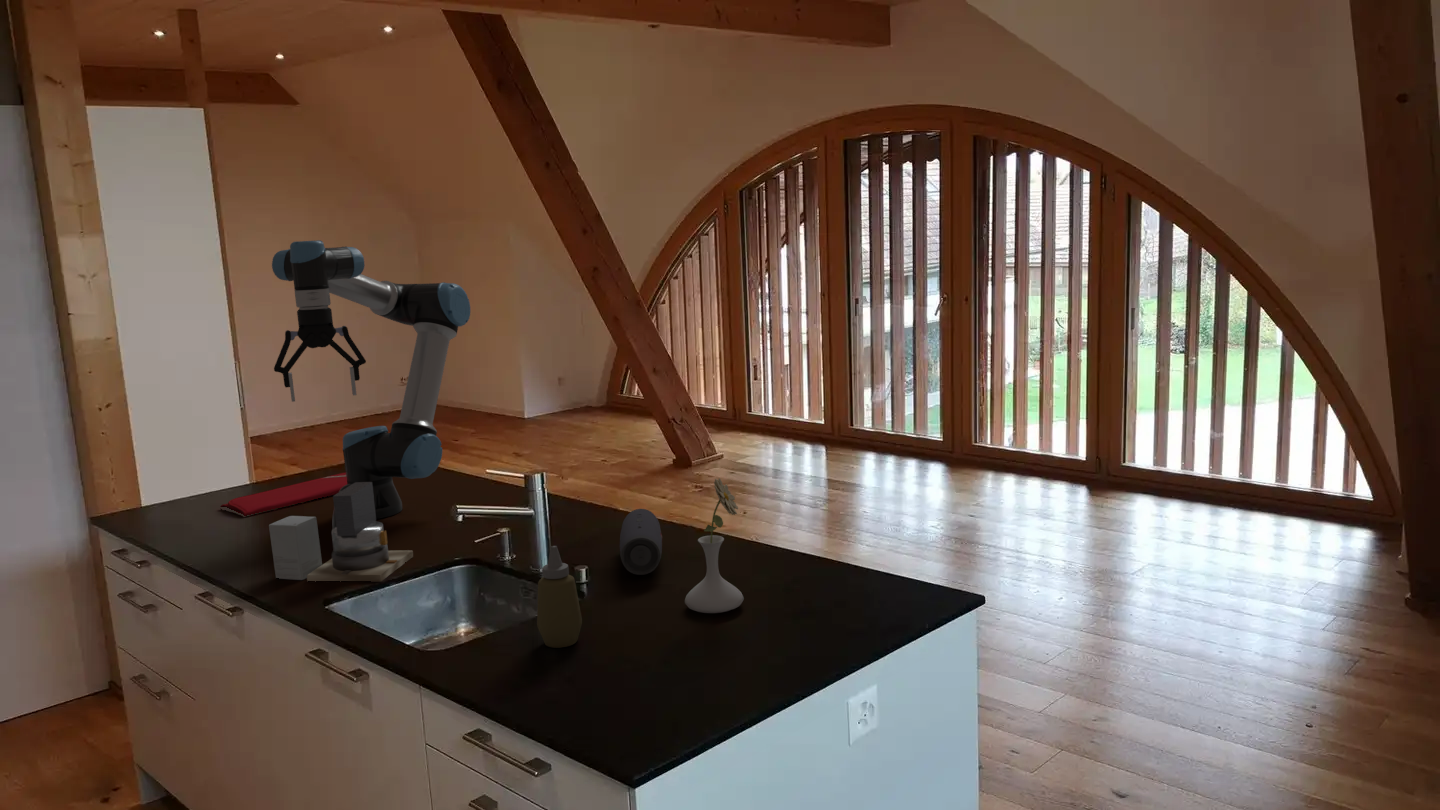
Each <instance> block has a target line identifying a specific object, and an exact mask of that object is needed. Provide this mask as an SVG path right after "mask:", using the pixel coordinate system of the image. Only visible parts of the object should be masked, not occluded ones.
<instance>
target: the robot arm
mask: <svg viewBox="0 0 1440 810" xmlns="http://www.w3.org/2000/svg"><path fill="white" fill-rule="evenodd" d="M364 257H365V256H364V255H363V253H362V252H361V251H360V250H359V249H358V248H356V247H353V246H340V247H338V246H337V247H325V244H324V241H323V240H319V239H318V240H302V241H301V240H299V241H297V240H296V241H293V242H291V243H290V245H289V248H288V249H283V250H282V249H281V250H279V251H277V252H276V253H275V254H274V255H273V257H272V261H271V267H272V268H271V269H272V272H273V274H274V276H276V278H277V279H279V280H280V281H281V280H282V281H288V282H292V281H293V286H294V298H295V305H296V308H298V310H297V311H296V315H297V321H298V322H297V323H298V330H296V331H295V330H290V329H289V330H288V329H287V330H285V332H284V342H283V344H282V347H281V349H280V352H279V355H278V357H277V359H276V362H275V364H274V366H273V371H274V372H276V373H279V374H280V373H281V375H282V378H283V384H284V387H285V388H289V390H290V398H291V402H292V403H294V402H296V396H295V391H294V390H295V388H294V387H295V386H294V380H293V373H292V372H290V370H291V369H292V368H293V366H294V365H295V363H297V361H298V360H299V358H300V357H301V356H302V354H304V352H305V351H306V349H307V348H310V349H316V348H326V347H328V346H330V347H332V349H333V350H334V351H336V352H337V353H339V355H340V356H342V357H343V359H345V360H346V362H348V363H349V364H350V365H351V366H349V375H350V383H351V384H350V385H351V391H352V396H357V387H356V381H360V366H362V365H365V364H367V360H366V359H365V357H364V356H363V354H362V352H361V351H360V350H359V347H357V345H356V343H355V342H354V340H353V339H352V337H351V335H350V332H349V330H348V329H349V328H348V327H347V326H346V325H342V326H341V327H334V321H333V313H332V308H331V307H329V306H331V303H332V302H331V297H330V296H331V295H334V296H337V297H340V298H342V299H345V300H348V301H350V302H352V303H356V304H358V305H361V306H364V307H366V308H369V309H370V311H371V312H372V313H373V314H375V315H378V316H380V317H382V318H385V319H387V320H390V321H393V322H396V323H399V324H403V325H407V326H412V328H413V330H414V331H415V332H416V334H417V335H416V339H415V345H414V349H413V353H412V357H411V358H412V359H411V363H410V367H409V373H408V377H407V382H406V386H405V391H404V395H403V400H402V406H401V411H400V414H399V418H397V420H395V421H393V422H392V424H391V428H390V432H389V430H388V427H387V426H386V425H377V426H369V427H365V428H361V429H355V430H353V431H349V432H347V433H345V434H344V435H343V437H342V452H343V453H342V454H343V461H344V462H343V463H344V469H345V472H346V478H347V484H353V483H355V482H372V485H373V494H374V504H375V513H376V520H377V519H383V518H387V517H392V516H394V515H397V514H399V513H401V512H402V510H403V502H402V499H401V497H400V495H399V492H398V490H397V489H396V486H395V484H394V481H393V478H404V479H406V478H407V479H409V480H414V479H423V478H424V479H425V478H427V477H429V476H431V475H432V474H433V473H434V472H436V471H437V469H438V468H439V465H440V463H441V460H442V458H443V447H441V446H442V445H443V444H442V441H441V440H440V438H439V437H438V436H437V434H438V431H437V429H436V427H435V426H434V419H435V414H436V409H437V404H438V400H439V394H440V390H441V384H442V380H443V375H444V369H445V367H446V366H445V364H446V360H447V355H448V350H449V344H450V341H451V340H453V339H454V338H456V337H457V335H458V330H459V327H463V326H465V325H466V324H467V323H468V322H469V320H470V317H471V302H470V299H469V298H468V294H467V293H466V291H465V289H463V287H462V286H461V285H459V284H457V283H452V282H438V283H437V282H436V283H435V282H434V283H430V282H429V283H395V282H391V281H389V280H382V281H379V280H377V279H375V278H372V277H369V276H366V275H364V274H362V273H363V272H364V270H365V258H364ZM330 294H331V295H330ZM336 334H339V336H341V337H343V338H344V339H345V341H346V342H347V344H348V345H349V348H350V349H351V351H352V352H353V354H355V356H356V358H357V360H355V359H354V358H353V357H352V356H351V355H350V354H349V353H348V352H346V351H345V350H344V349H343V348H342V347H341V346H340V345H339V344H338V343H337V342H336V341H335V340H333V339H334V338H335V336H336ZM296 337H298V338H299V339H300V340H301V343H300V345H299V346H298V348H297V349H296V350H295V352H294V353H293V355H292V356H291V357H290V358H289V360H288V361H287V362H286V364H285V365H284V367H283V366H282V365H283V363H284V360H285V357H286V354H287V353H288V350H289V347H290V345H291V342H292V341H294V340H295V338H296Z"/></svg>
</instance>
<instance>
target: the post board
mask: <svg viewBox="0 0 1440 810" xmlns="http://www.w3.org/2000/svg"><path fill="white" fill-rule="evenodd" d="M412 558H414V551H413V550H409V549H407V550H396V549H395V550H389V548H388V543H387V544H386V545H385V548H384V549H382V550H380V551H378V552H376V553H373V554H369V555H364V556H357V557H341V556H337V555H335V554H334V550H332V552H331V558H330V559H329V560H328V561H326V562H325V563H322V565H321V566H320V567H318V568H317V569H315V570H314V571H312V572H311V573H309V574H308V575H307V578H306V580H307V582H308V581H315V582H316V581H340V583H341V581H371V583H372V582H373V583H374V582H375V583H376V582H378V583H379V582H383V581H384V580H385V579H386V578H387V577H389V576H390V575H391V574H393V573H394V572H395V571H397V569H399V568H401V567H402V566H403V565H405V562H406V563H407V562H408V561H410V560H411V559H412ZM315 582H314V583H315Z"/></svg>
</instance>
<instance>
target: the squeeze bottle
mask: <svg viewBox="0 0 1440 810" xmlns="http://www.w3.org/2000/svg"><path fill="white" fill-rule="evenodd" d="M541 570H542V577H541V578H540V579H539V580H538V581H537V611H536V612H537V613H536V614H537V616H536V617H537V618H536V626H537V629H538V631H539V633H540V636H541V637H542V641H543V642H544V645H545V646H546V647H549V648H554V649H560V648H567V647H570V646H573V645H574V644H576V643H577V642H578V639H579V635H580V632H581V629H582V624H583V618H582V612H581V607H580V602H579V595H578V591H577V590H578V589H577V585H576V581H575V580H576V579H575V577H574V576H573V575H572V574H570V568H569V564H567V563H565V562H563V561H562V559H561V555H560V552H559V549H558V546H557V545H551V546H550V548H549V555H548V562H547V564H544V565H543V567H541Z"/></svg>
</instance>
